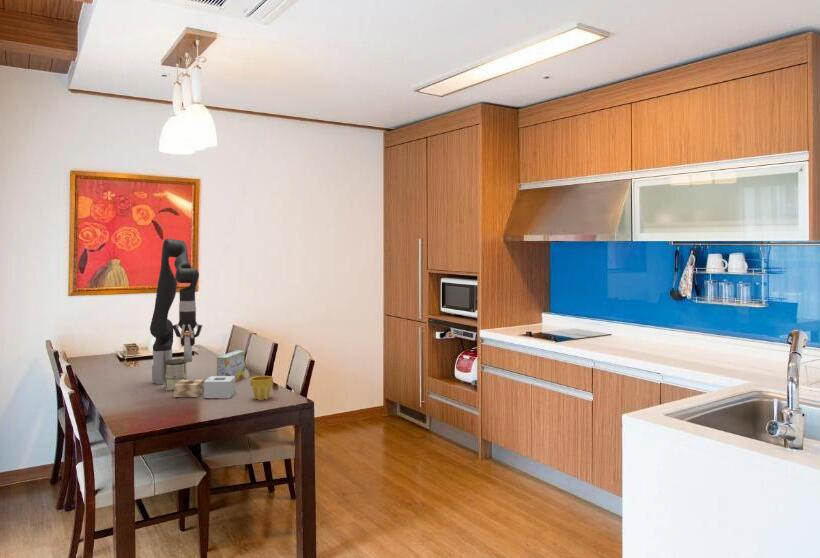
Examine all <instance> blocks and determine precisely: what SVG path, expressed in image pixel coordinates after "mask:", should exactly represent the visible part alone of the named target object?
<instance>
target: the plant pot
mask: <svg viewBox="0 0 820 558" xmlns="http://www.w3.org/2000/svg"><path fill="white" fill-rule="evenodd" d="M249 381H250V382H249V383H250V387H251V388H252V392H253V396H254V399H255V400H256V399H258V400H257V401H265V400H264V399H266V400H269V399H270V397H271V396H270V395H271V390H272V386H274V377H272V376H271V375H270V376H269V375H257V376H253V377H250V380H249ZM268 398H269V399H268Z"/></svg>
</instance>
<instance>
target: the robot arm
mask: <svg viewBox="0 0 820 558" xmlns="http://www.w3.org/2000/svg"><path fill="white" fill-rule="evenodd" d="M170 258H175V259H174V267H175V270H176V271H175V273H174V272H173V271H172V268H171V266H170ZM158 275H159V276H158V281H157V287H156V288H157V289H156V294H155V295H156V296H155V302H154V311H153V314H152V318H151V322H150V325H149V332H150V334H151V336H152V337H154V338H155V341H154V343H153V344H152V365H151V383H155V385H165V384H164V383H166V377H165V361H167V360H172V359H173V343H174V333H175V336H176V337H177V338H180V345H181V346H182V347H184V335H183V333H184V332H187V331H189V332H190V334H191V346H192V347H194V345H195V344H196V338H198V337H199V335H200V333H201V331H202V328H203V324H199V323H197V307H196V306H197V305H196V290H197V284H198V281H199V279H200V278H199V277H200V273H199V271H198V269H197V268H194V267H192V265H191V262H190V260H189V254H188V246H187V244H186V241H184V240H181V239H173V238H165V239H164V240H163V243H162V249H161V261H160V270H159V274H158ZM178 283H179V284H189V285H188V286H187V287H183V288H180V289H179V294H178V295H179V301H178V302H179V303H178V316H179V317H178V323H177V324H176V323H175V324H174V325H173V323H172V321H171V320H170V319H168V318H169V317H168V315H169V312H170V309H171V306H172V305H173V303H174V300H175V298H176V294H177V288H178ZM179 328H180V329H179ZM195 328H196V332H195ZM180 330H181V331H180Z"/></svg>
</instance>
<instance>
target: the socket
mask: <svg viewBox="0 0 820 558" xmlns="http://www.w3.org/2000/svg"><path fill="white" fill-rule="evenodd" d="M236 391H237V389H236V382H235V376H217V375H215V376H212V375H211V376H209V377H207V379H206V380H204V392H203V399H204V398H219V399H231V398H232V397H233V396H234V394H235V393H236ZM232 395H233V396H232ZM231 396H232V397H231ZM230 397H231V398H230Z"/></svg>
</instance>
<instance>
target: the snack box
mask: <svg viewBox="0 0 820 558" xmlns="http://www.w3.org/2000/svg"><path fill="white" fill-rule="evenodd" d="M245 352H246V351H245V350H240V349H238V350H237V349H236V350H232V351H231V352H227V353H225V354H222V355H219V356H217V357H216V376H235V381H236V382H238V381H240V380H242V379H244V378H245V377H246V376H245V374H246V373H245V366H246V363H245V356H246V355H245V354H246V353H245ZM243 377H244V378H243ZM241 378H242V379H241ZM239 379H240V380H239ZM237 380H238V381H237Z"/></svg>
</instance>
